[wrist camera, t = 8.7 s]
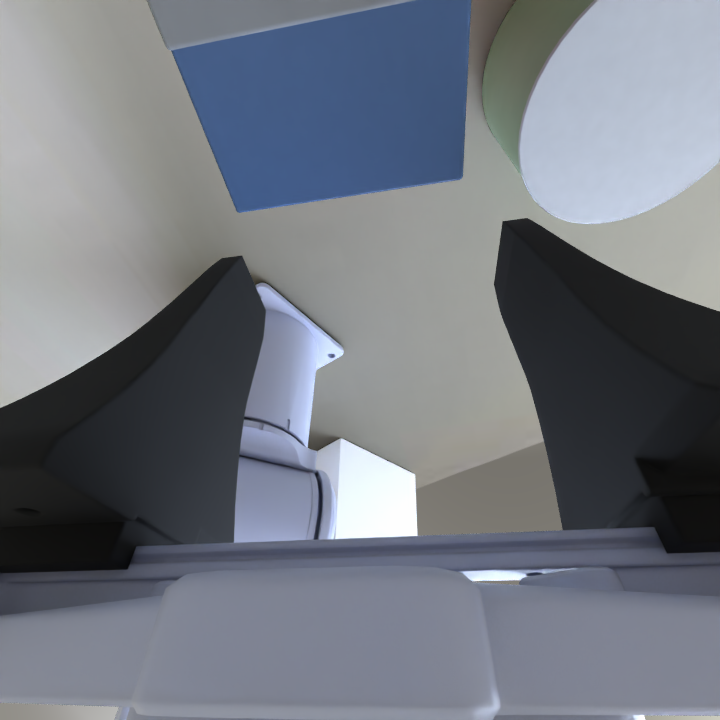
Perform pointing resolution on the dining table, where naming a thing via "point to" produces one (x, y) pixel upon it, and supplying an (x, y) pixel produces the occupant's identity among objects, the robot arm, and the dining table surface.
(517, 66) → the green yogurt
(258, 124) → the block
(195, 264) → the dining table surface
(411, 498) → the milk
